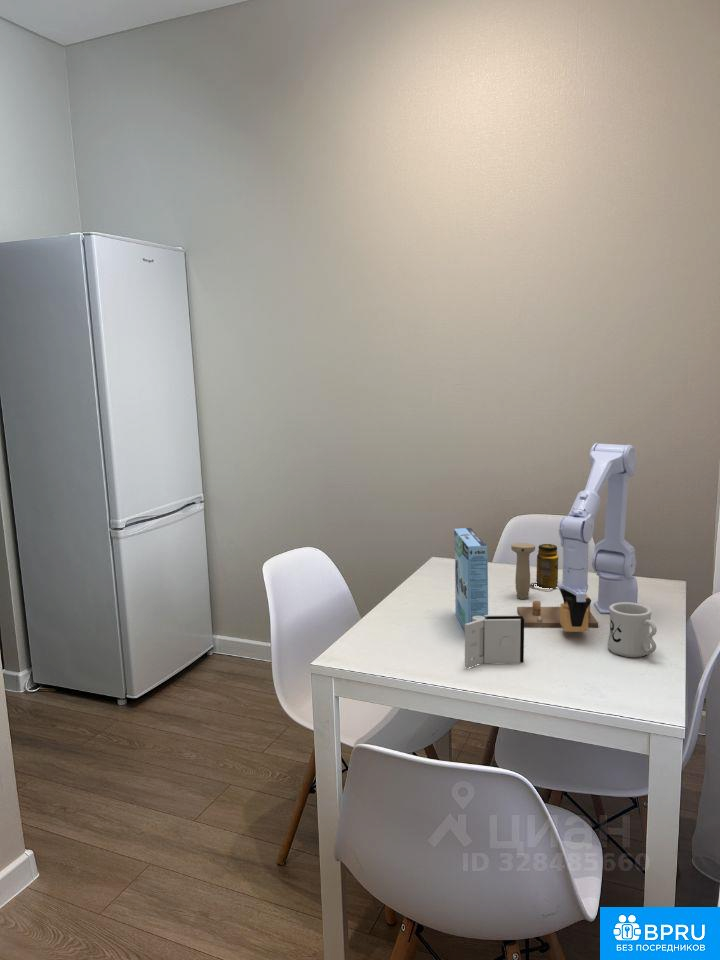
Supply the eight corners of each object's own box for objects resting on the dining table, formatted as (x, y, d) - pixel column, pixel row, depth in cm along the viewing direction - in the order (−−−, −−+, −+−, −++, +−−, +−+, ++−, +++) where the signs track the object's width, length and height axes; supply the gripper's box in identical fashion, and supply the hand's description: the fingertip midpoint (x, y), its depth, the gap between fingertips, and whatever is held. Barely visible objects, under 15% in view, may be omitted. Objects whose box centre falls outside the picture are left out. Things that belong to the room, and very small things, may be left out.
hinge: (465, 670, 160) (465, 625, 158) (457, 660, 165) (457, 616, 163) (526, 663, 162) (526, 619, 161) (516, 654, 168) (517, 611, 166)
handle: (534, 601, 203) (535, 547, 201) (510, 600, 205) (510, 546, 202) (534, 596, 208) (535, 543, 205) (511, 594, 209) (511, 542, 207)
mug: (598, 647, 170) (600, 605, 169) (629, 640, 174) (631, 599, 172) (638, 667, 159) (640, 622, 158) (670, 659, 163) (672, 615, 161)
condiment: (563, 585, 217) (564, 545, 215) (548, 592, 211) (548, 551, 209) (542, 580, 222) (542, 541, 220) (525, 587, 216) (526, 546, 214)
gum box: (488, 640, 176) (489, 545, 173) (467, 640, 176) (467, 546, 172) (473, 612, 195) (473, 527, 192) (453, 613, 195) (453, 528, 192)
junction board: (586, 611, 194) (587, 584, 193) (598, 627, 183) (599, 599, 181) (517, 611, 196) (517, 584, 195) (523, 627, 184) (524, 599, 183)
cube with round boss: (582, 623, 180) (583, 599, 179) (587, 631, 175) (588, 606, 174) (560, 623, 181) (560, 599, 180) (564, 631, 175) (565, 606, 174)
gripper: (552, 558, 183) (551, 611, 185) (564, 575, 169) (562, 632, 171) (581, 558, 182) (580, 611, 185) (595, 575, 168) (594, 632, 170)
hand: (573, 621), depth 178 cm, fingers closed on cube with round boss, 5 cm apart
